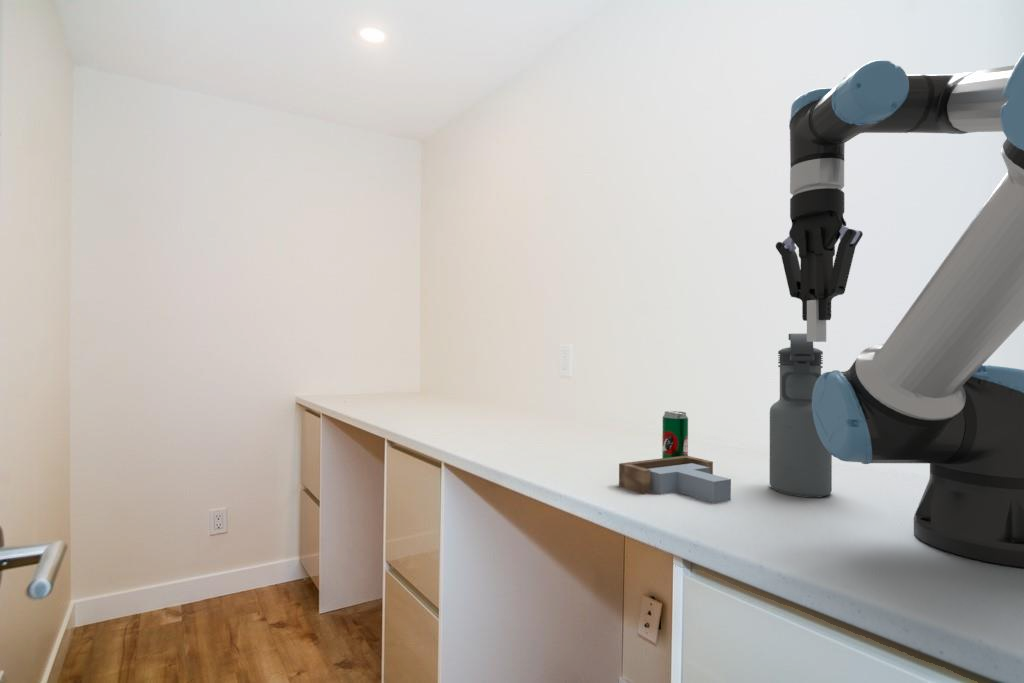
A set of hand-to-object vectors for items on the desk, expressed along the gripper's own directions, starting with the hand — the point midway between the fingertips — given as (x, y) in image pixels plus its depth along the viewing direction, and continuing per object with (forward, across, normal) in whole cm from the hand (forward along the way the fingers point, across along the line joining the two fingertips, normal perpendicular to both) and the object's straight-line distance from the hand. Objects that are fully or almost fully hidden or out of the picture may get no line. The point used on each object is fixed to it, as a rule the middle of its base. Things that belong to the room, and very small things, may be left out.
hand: (816, 341), depth 85 cm
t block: (+26, +16, +10) cm, 32 cm away
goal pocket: (+26, +22, +10) cm, 36 cm away
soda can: (+27, +30, 0) cm, 40 cm away
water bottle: (+27, +8, -8) cm, 29 cm away
